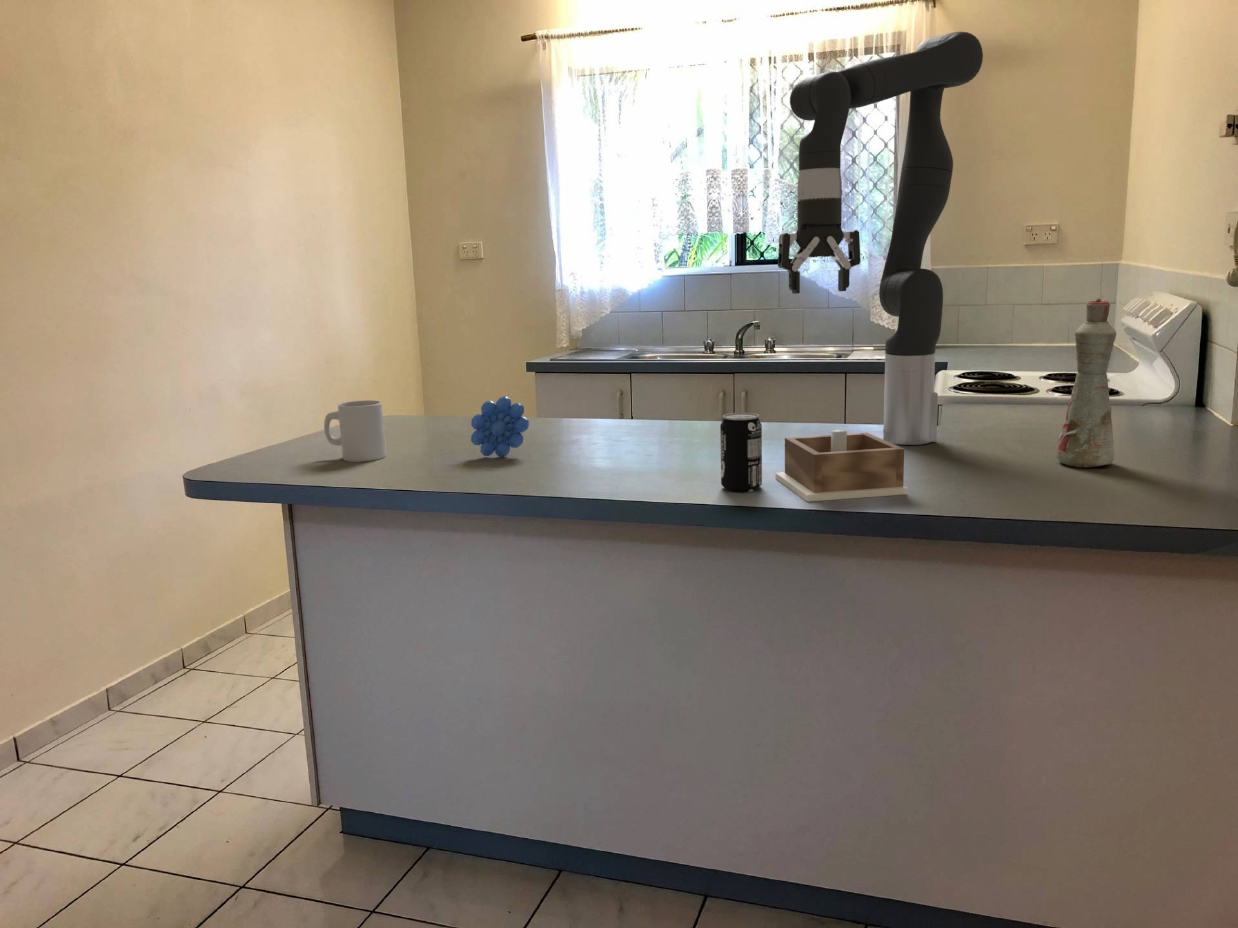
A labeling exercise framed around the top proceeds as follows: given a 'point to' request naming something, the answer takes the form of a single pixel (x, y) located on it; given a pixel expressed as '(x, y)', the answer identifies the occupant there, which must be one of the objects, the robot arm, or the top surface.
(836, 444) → the white square baseplate
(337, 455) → the top surface
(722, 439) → the beverage can
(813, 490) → the collar
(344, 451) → the mug
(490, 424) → the blue flower ornament
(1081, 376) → the bottle
